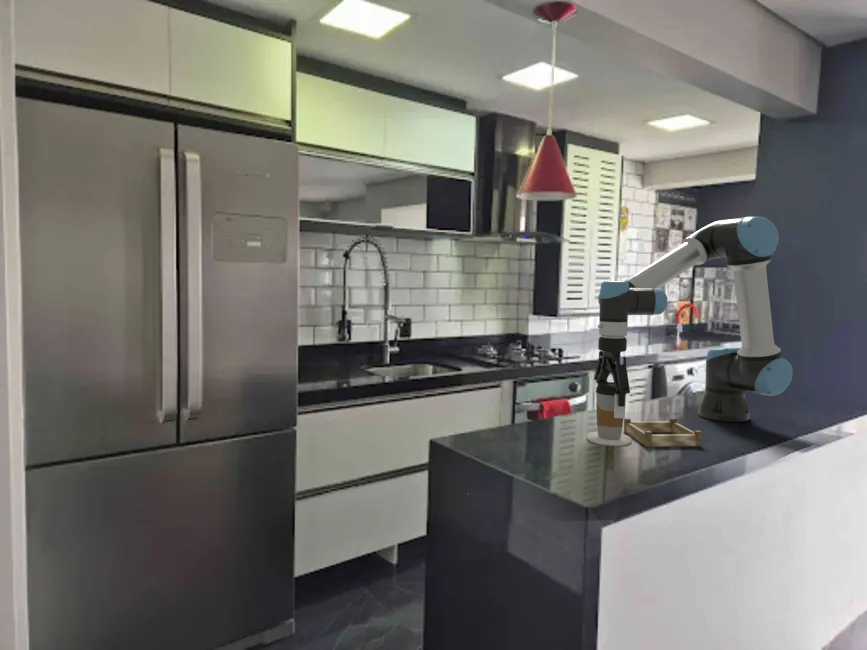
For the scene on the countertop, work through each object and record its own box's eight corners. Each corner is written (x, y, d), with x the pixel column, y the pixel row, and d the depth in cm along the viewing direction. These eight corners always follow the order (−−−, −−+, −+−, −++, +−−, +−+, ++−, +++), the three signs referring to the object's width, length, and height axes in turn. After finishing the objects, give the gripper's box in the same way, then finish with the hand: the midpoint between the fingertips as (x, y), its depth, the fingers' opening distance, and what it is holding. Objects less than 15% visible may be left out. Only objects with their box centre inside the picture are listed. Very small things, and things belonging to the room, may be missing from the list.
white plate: (621, 433, 167) (621, 431, 166) (638, 446, 155) (638, 443, 155) (581, 434, 166) (581, 431, 166) (595, 446, 154) (595, 443, 154)
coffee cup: (626, 442, 155) (629, 388, 154) (595, 440, 157) (597, 386, 155) (622, 433, 163) (625, 382, 162) (592, 431, 165) (594, 381, 164)
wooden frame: (673, 431, 170) (674, 417, 170) (701, 446, 155) (701, 431, 155) (623, 431, 169) (624, 418, 169) (646, 446, 154) (646, 432, 154)
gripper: (584, 332, 170) (582, 402, 172) (616, 341, 145) (613, 423, 147) (609, 332, 170) (606, 402, 172) (645, 341, 146) (642, 423, 147)
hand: (609, 412), depth 159 cm, fingers open, 13 cm apart
